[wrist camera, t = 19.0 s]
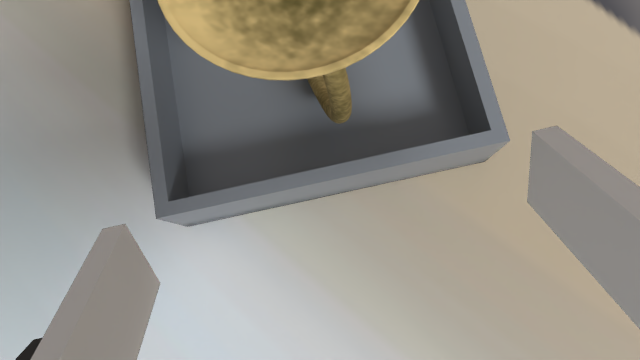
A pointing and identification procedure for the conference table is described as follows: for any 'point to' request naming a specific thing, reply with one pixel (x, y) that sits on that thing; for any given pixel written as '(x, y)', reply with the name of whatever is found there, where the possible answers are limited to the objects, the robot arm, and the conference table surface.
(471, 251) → the conference table surface
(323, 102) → the wall sconce
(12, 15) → the conference table surface
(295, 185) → the tray
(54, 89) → the conference table surface
